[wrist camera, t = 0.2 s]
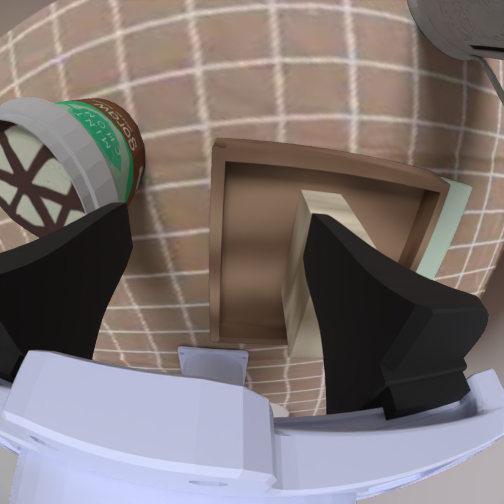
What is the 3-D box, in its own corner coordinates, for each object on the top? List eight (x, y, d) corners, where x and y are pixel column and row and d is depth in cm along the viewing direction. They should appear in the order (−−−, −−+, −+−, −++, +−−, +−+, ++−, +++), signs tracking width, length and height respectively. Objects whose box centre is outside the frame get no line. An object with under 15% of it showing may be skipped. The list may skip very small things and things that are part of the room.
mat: (421, 294, 27) (423, 297, 27) (386, 294, 27) (387, 297, 26) (469, 185, 20) (472, 187, 19) (433, 174, 19) (436, 176, 19)
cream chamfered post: (314, 292, 25) (329, 357, 19) (281, 291, 25) (289, 357, 19) (340, 194, 20) (377, 249, 14) (300, 189, 20) (324, 245, 14)
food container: (198, 146, 18) (157, 212, 10) (148, 206, 21) (96, 296, 13) (74, 53, 13) (-27, 64, 5) (38, 120, 16) (-53, 166, 8)
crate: (370, 322, 29) (377, 342, 27) (212, 319, 28) (210, 341, 26) (432, 171, 19) (450, 184, 17) (217, 137, 18) (212, 147, 16)
